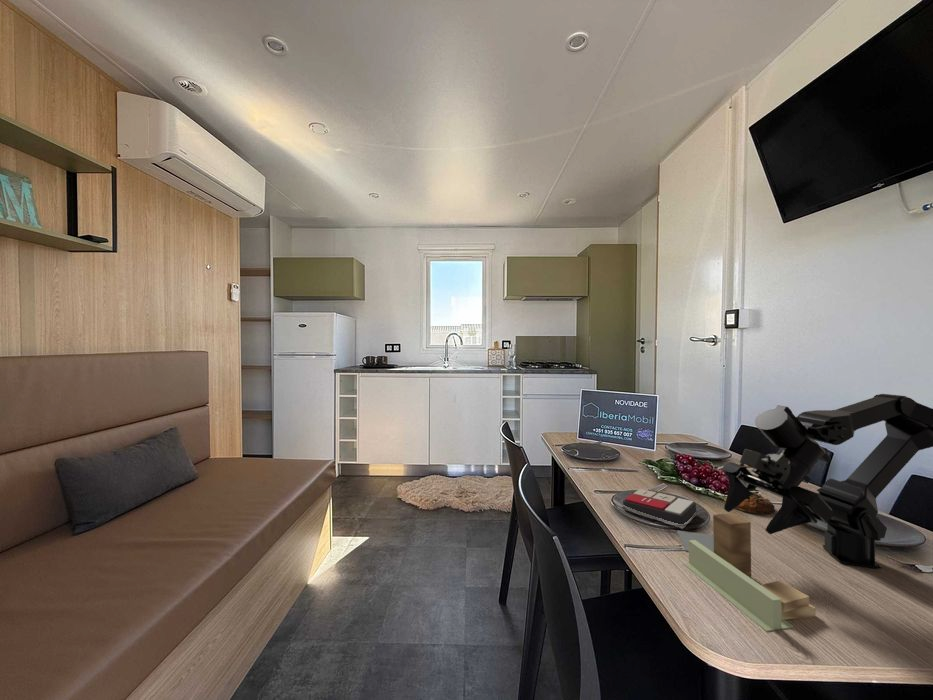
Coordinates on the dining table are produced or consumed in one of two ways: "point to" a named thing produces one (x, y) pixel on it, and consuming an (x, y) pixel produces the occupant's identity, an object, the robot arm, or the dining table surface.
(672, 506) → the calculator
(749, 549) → the brown wooden block
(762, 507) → the bread roll
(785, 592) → the offcut upper
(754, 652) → the dining table surface
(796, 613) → the offcut lower
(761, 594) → the green flanged rail
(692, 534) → the felt pad
